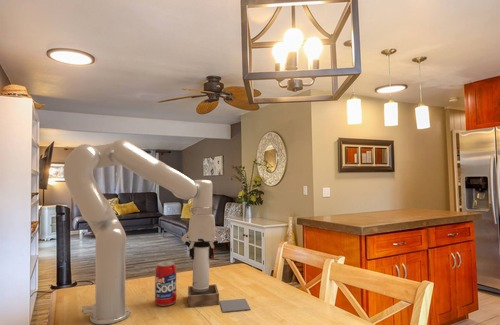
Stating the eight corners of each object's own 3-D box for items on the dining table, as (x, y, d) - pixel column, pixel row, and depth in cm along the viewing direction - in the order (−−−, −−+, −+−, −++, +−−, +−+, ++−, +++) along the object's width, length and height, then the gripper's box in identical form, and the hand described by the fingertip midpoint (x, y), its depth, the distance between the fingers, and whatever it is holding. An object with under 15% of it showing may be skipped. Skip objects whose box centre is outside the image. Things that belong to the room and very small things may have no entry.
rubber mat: (222, 312, 115) (222, 311, 115) (219, 302, 125) (219, 300, 125) (250, 310, 117) (250, 308, 117) (245, 299, 127) (245, 298, 127)
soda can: (172, 297, 129) (172, 259, 130) (179, 304, 123) (179, 263, 124) (152, 302, 125) (152, 262, 126) (158, 309, 119) (158, 267, 119)
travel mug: (190, 292, 123) (191, 238, 124) (194, 287, 129) (195, 235, 130) (207, 293, 123) (208, 239, 124) (209, 287, 129) (210, 236, 130)
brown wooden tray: (188, 307, 120) (188, 296, 120) (188, 296, 131) (188, 286, 131) (219, 304, 122) (219, 293, 122) (216, 294, 133) (216, 284, 133)
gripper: (179, 212, 122) (178, 261, 121) (225, 212, 126) (224, 259, 125) (179, 210, 130) (178, 256, 129) (223, 210, 133) (222, 255, 132)
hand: (201, 257), depth 127 cm, fingers closed on travel mug, 6 cm apart
